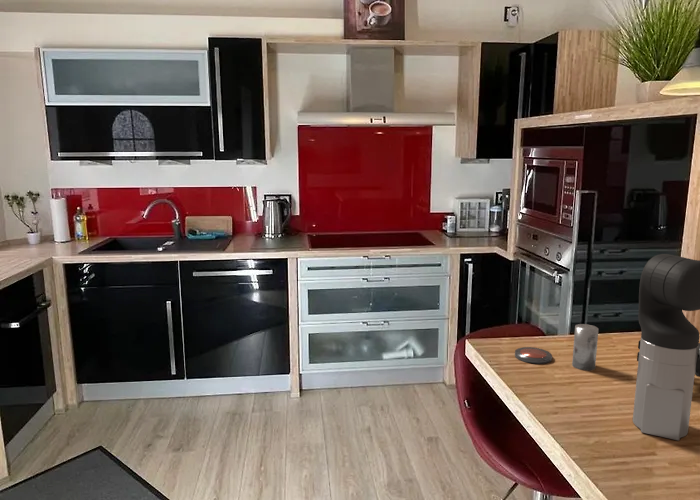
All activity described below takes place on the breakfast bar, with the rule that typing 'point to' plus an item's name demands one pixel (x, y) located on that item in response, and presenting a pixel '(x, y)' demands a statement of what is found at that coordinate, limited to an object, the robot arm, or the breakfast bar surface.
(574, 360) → the grey metal cylinder
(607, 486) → the breakfast bar surface
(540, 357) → the flange pad
